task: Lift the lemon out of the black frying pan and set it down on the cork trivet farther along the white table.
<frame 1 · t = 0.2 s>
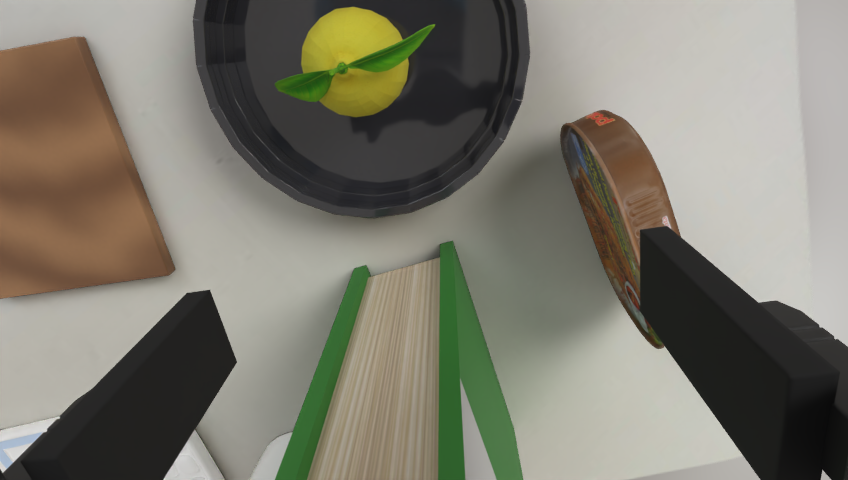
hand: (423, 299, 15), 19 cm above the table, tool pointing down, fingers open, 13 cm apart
calculator: (110, 466, 44), on the table
lemon: (368, 58, 30), resting on pan
tin: (606, 208, 33), on the table
candle holder: (310, 464, 43), on the table
trivet: (39, 178, 34), on the table
hardback book: (439, 352, 38), on the table
pan: (369, 57, 30), on the table
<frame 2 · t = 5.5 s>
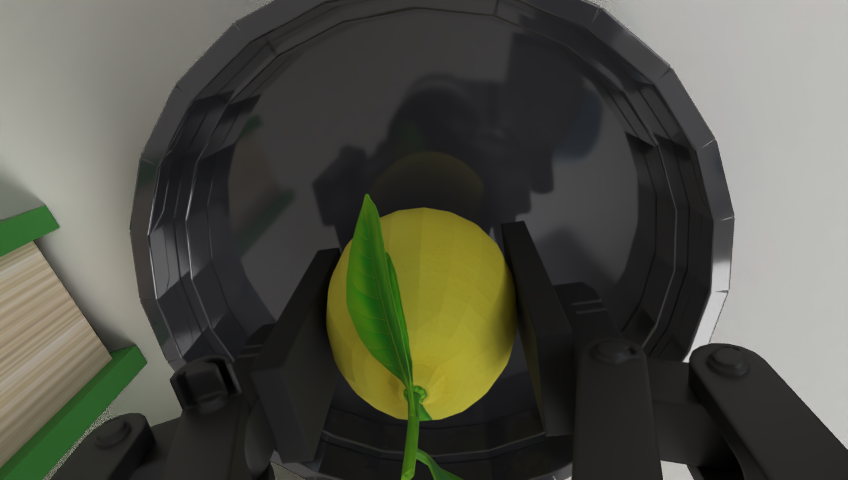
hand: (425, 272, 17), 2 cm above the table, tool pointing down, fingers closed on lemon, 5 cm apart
lemon: (429, 253, 18), resting on pan, touching gripper
pan: (429, 250, 19), on the table
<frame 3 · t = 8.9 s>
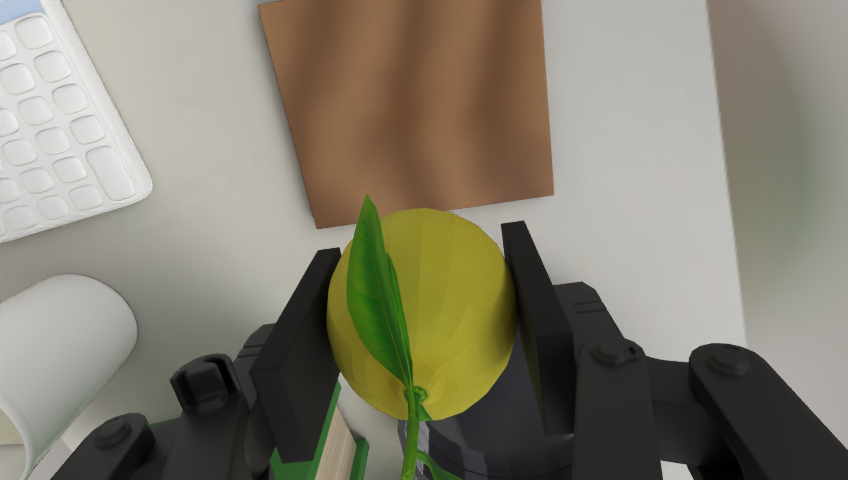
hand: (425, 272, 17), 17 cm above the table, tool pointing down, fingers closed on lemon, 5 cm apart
lemon: (429, 253, 18), point 15 cm above the table, touching gripper
candle holder: (87, 319, 38), on the table
trivet: (415, 103, 31), on the table
hardback book: (258, 434, 42), on the table
pan: (515, 399, 40), on the table
when the fingers open (2 cm above the table, at t = 12.7 s): lemon stays where it is, resting on trivet.
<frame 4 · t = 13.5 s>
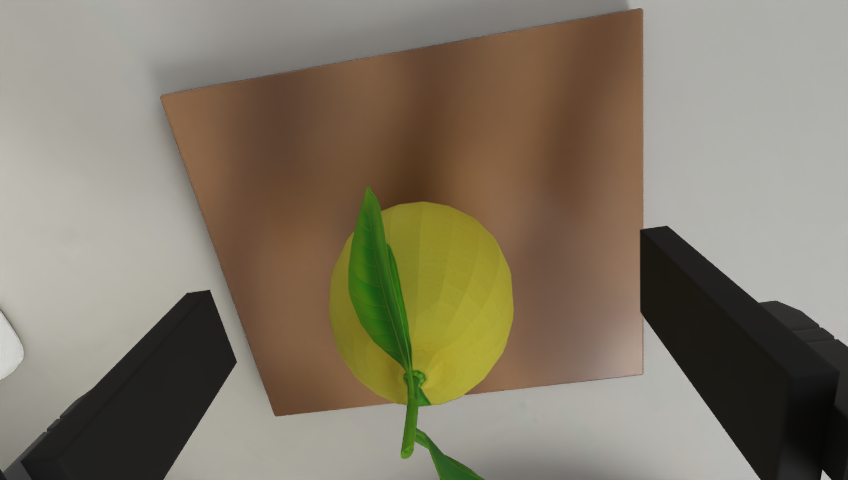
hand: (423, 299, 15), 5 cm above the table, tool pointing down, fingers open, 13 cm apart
lemon: (428, 247, 19), point 1 cm above the table, touching trivet
trivet: (426, 239, 19), on the table
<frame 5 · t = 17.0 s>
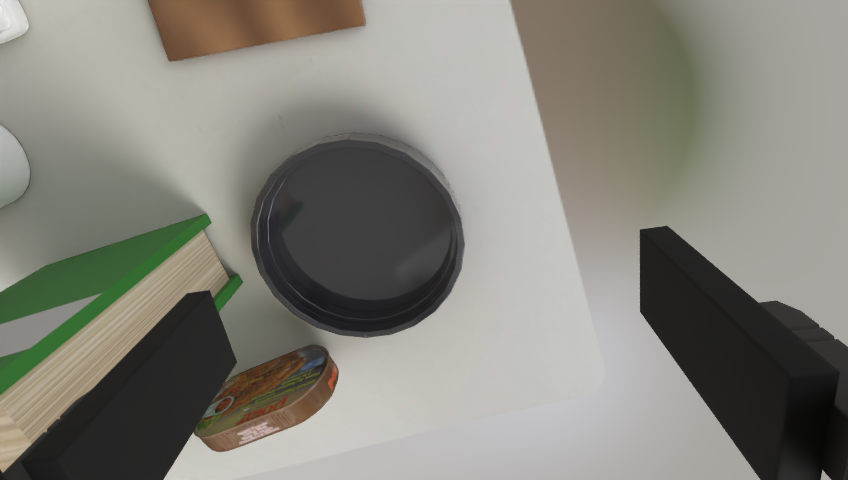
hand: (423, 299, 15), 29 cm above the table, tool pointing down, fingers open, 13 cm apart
tin: (280, 369, 52), on the table
hardback book: (145, 273, 48), on the table
pan: (363, 231, 45), on the table
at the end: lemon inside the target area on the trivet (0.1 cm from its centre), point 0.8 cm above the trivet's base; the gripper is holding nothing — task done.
